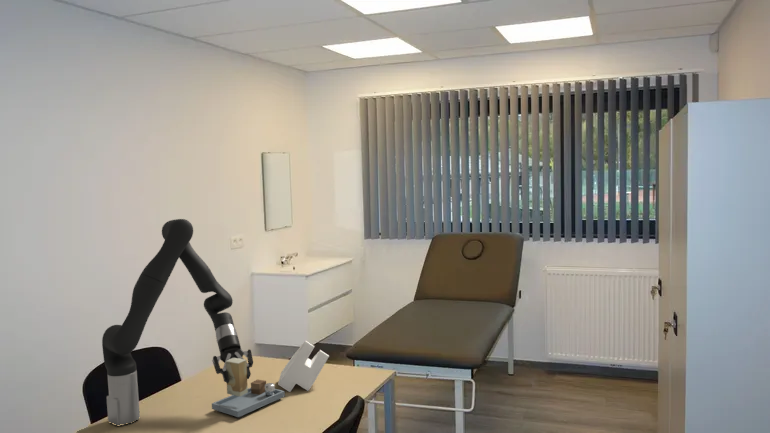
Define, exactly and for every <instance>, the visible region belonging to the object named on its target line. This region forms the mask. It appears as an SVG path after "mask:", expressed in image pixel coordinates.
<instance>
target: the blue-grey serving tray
mask: <svg viewBox="0 0 770 433" xmlns="http://www.w3.org/2000/svg"><path fill="white" fill-rule="evenodd" d="M284 397H286V393H285V391H284V390H282V389H277V388H275V394H274V395H272V396H270V397H266V396H265V392H264V393H262V394H260V395H258V394H252V393H251V387H248V393H246V394H244V395H242V396H235V395H230V396H227V397H224V398H222V399H219V400H216V401H214V402H212V403H211V410H214V411H216V412H218V413H223V414H227V415H230V416H234V417H235V418H236V419H241V418H243V416H244V415H247V414H249V413H251V412H253V411H255V410H257V409H260V408H261V407H264V406H267V405H268V404H269V405H270V404H271V403H273V402H279V401H280V400H281V399H283V398H284Z"/></svg>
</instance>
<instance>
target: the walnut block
mask: <svg viewBox="0 0 770 433" xmlns="http://www.w3.org/2000/svg"><path fill="white" fill-rule="evenodd" d="M265 384H267V380H264V379H263V380H262V379H256V380H254V381H252V382H250V388H251V393H252V394H258V395H260V394H262V393H264V392H265Z"/></svg>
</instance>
